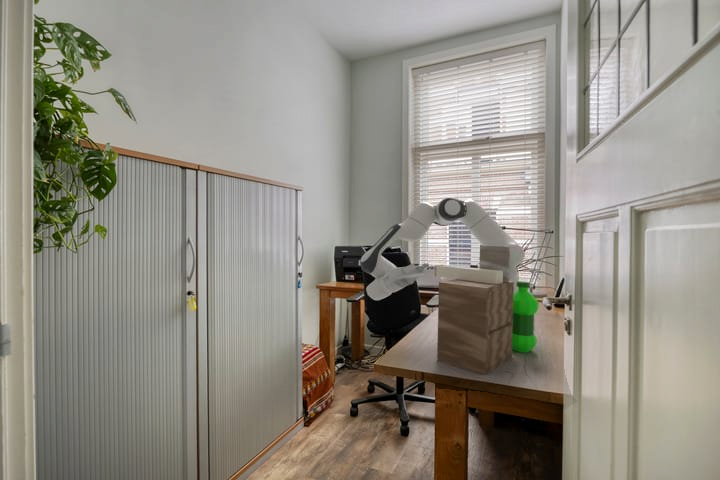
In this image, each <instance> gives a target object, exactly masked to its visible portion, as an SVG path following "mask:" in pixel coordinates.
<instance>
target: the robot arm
mask: <svg viewBox="0 0 720 480" xmlns="http://www.w3.org/2000/svg"><path fill="white" fill-rule="evenodd" d="M456 221H459V222H461V223H462V224H463V225H464V226H465V227H466V229H468V231H469V232H470V233H471V234H472V235H473V236H474V237H475V239H477V241H478V243H480V244H481V245H485V246H510V270H509V281H513V282H514V293H516V292H517V291H518V287H517V281H520V279H519V275H518V270H517V266H519V265H520V264H522V263H523V261H525V257H526V255H525V254H526V253H525V251H524V249H523V247H522V246H521V245H519V244H518V243H517V241H516V240H515V239H513V237H512V236H511V235H509V233H507V232H506V231H505V230H504V229H503V228H502V227H501V226H500V225H499V224H498V223H497V221H495V219H493V218H492V217H491V215H490V214H489V213H488V212H487V211H486V210H485V208H483V206H481V205H480V204H478V203H477V202H476V201H475V200H474V199H467V200H461V199H459V198H457V197H454V196H450V197H446V198H443V199H442V200H441V201H439V202H438V203H437V204H435V205H433V204H432V203H429V202H426V201H421V202H420V203H418V204H417V205H416V206H415V207H414V208H413V209H412V210H411V211H410V213H409V215H408V216H407V217H406V219H405V220H404V221H402V222H401V223H396V224H393V225H392V226H391V227H390V228H389V229H388V230H387V231H385V233H384V234H383V235H381V237H380V238H379V239H378V240H377V241H376V242H375V243H374V244H373V246H371V247H370V248H369V249H368V250H367V251H365V252H364V253H363V255H362V256H361V258H360V259H359V260H360V261H359V263H360V268H361V270H362V271H363V272H365V273H367V274H369V275H370V276H372V277H373V278H375V279H374V280H373V281H372V282H371V283H369V284H368V285H367V286H366V288H365V290H366V293H367V296H368V297H370V299H372V300H374V301H381V300H382V299H385V298H387V297H389V296H391V295H392V293H396V292H398V291H400V290H402V289H404V288H405V287H407V286H411V285H413V284H414V282H416V281H417V280H418V279H421V278H422V277H424V276H425V275H426V273H427V268H429V267H430V265H429V263H428V262H424V263H423V264H422V265H416V264H415V263H410V264H409V265H407V266H402V267H397V266H396V265H395V264H394V263H392V262H391V261H390V260H388V259H387V258H385V257H384V256H383V255H382V253H383V252H384V251H385V250H386V249H387V248H388V247H389V246H390V244H392V242H394V241H396V240H401V241H405V242H409V243H416V242H419V241H421V240H422V239H423V238H424V237H425V235H426V234H427V232H428V231H429V229H430V227H432V225H433V224H435V225H437V226H441V227H445V226H450V225H452V224H453V223H455V222H456ZM514 293H513V294H514Z"/></svg>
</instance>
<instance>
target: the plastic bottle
mask: <svg viewBox="0 0 720 480" xmlns="http://www.w3.org/2000/svg"><path fill="white" fill-rule="evenodd" d="M517 287H518V291H517V292H516V293H514V294H513V331H512V350H514V351H515V352H518V353H525V354H526V353H529V352H531V351H532V350H533V349H534V348H535V347H536V345H537V343H538V342H537V337H536V335H535V314H536V313H537V312H538V311H539V305H540V303H539V301H538V299H537V298H536V297H535V296H534V295H533V294H532V293H530V291H529V288H530V281H527V280H526V281H524V280H519V281H517Z"/></svg>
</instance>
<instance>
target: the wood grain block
mask: <svg viewBox="0 0 720 480" xmlns="http://www.w3.org/2000/svg"><path fill="white" fill-rule="evenodd" d="M478 267H479V268H478V269H489V270H499V271H503V283H499V284H492V283H484V282H476V281H468V280H460V279H449V280H444V281H439V282H438V301H437V303H438V304H437V305H438V306H437V309H438V311H437V349H436V352H437V353H436V357H437V358H436V361H437V362H439V363H444V364H447V365H450V366H453V367H457V368H460V369H463V370H466V371H469V372H473V373H476V374H479V375H483V376H485V375H487V374H488V373H489V372H491V371H493V370H494V369H496V368H497V367H499V366H500V365H502V364H503V363H505V362H507V361H508V360H510V359H511V358H512V356H513V348H512V331H513V293H514V282H513V281H509V270H510V246H485V245H482V244H481V245H479V265H478Z"/></svg>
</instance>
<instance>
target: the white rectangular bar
mask: <svg viewBox="0 0 720 480" xmlns="http://www.w3.org/2000/svg"><path fill="white" fill-rule="evenodd" d="M434 277H439V278H446V279H452V280H454V279H460V280H468V281H476V282H484V283H492V284H499V283H503V271H499V270H489V269H479V268H477V267H467V266H465V267H464V266H456V265H455V266H454V265H447V264H446V265H445V264H437V265H436V264H435V265H434Z"/></svg>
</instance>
